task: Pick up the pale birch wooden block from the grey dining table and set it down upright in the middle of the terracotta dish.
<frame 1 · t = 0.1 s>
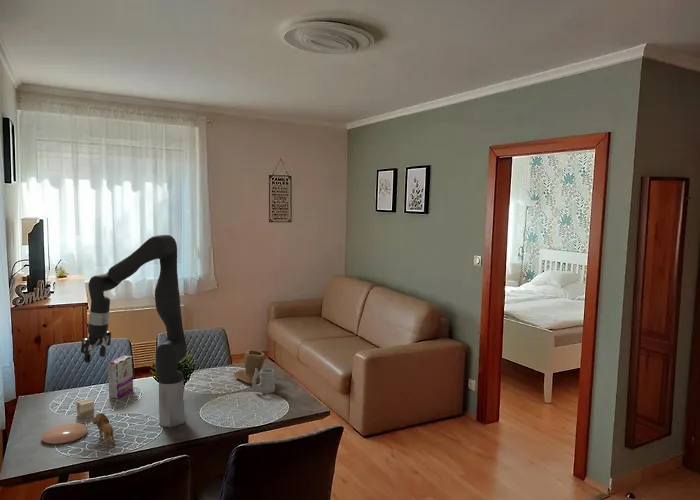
hand: (94, 359, 208), 22 cm above the table, tool pointing down, fingers open, 8 cm apart
birch block: (85, 415, 206), on the table
dish: (65, 435, 188), on the table
mug: (263, 392, 237), on the table
lion figurine: (104, 441, 184), on the table
candy bar box: (120, 394, 230), on the table
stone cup: (250, 380, 252), on the table
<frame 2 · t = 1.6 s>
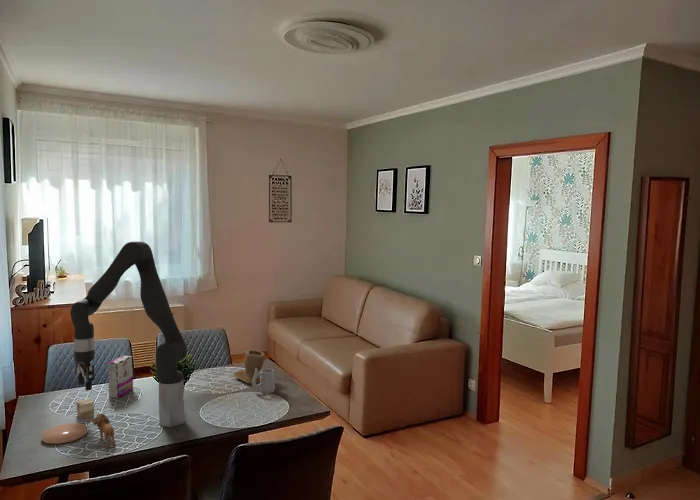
hand: (84, 387, 205), 12 cm above the table, tool pointing down, fingers open, 8 cm apart
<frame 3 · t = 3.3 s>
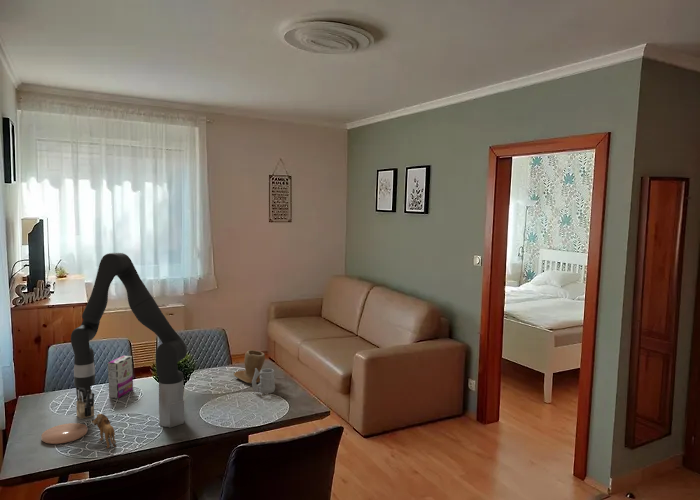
hand: (85, 413, 206), 1 cm above the table, tool pointing down, fingers closed on birch block, 5 cm apart
birch block: (85, 415, 206), on the table, touching gripper
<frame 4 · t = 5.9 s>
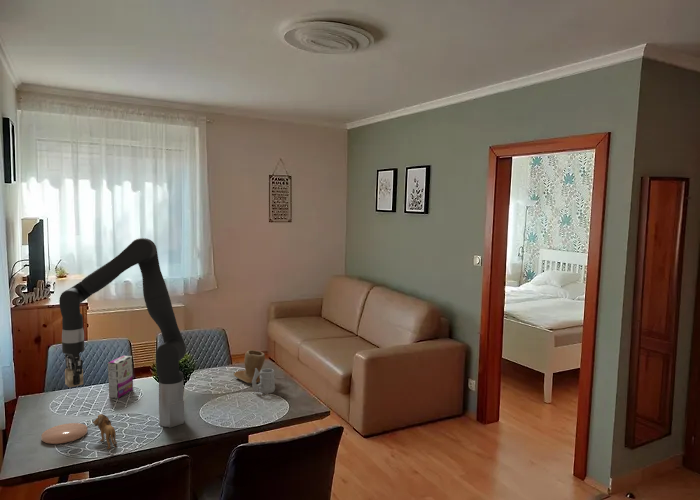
hand: (74, 382, 195), 17 cm above the table, tool pointing down, fingers closed on birch block, 5 cm apart
birch block: (74, 384, 195), point 17 cm above the table, touching gripper
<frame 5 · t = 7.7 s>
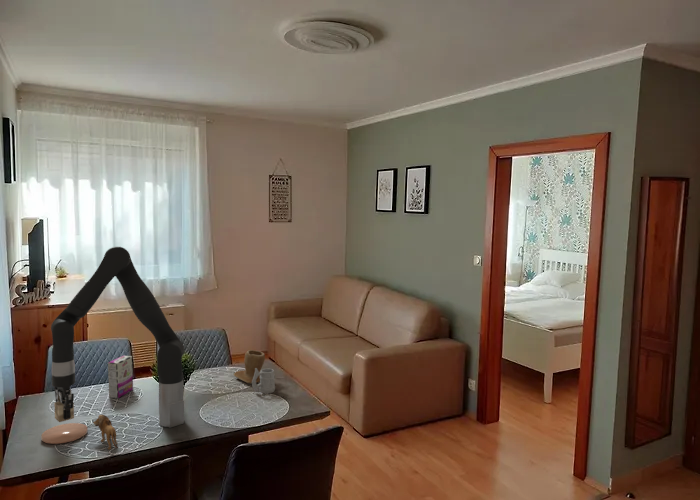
hand: (64, 416, 187), 8 cm above the table, tool pointing down, fingers closed on birch block, 5 cm apart
birch block: (64, 418, 187), point 7 cm above the table, touching gripper
when the fingers open (4 cm above the table, at t = 8.9 s): birch block drops 1 cm, resting on dish.
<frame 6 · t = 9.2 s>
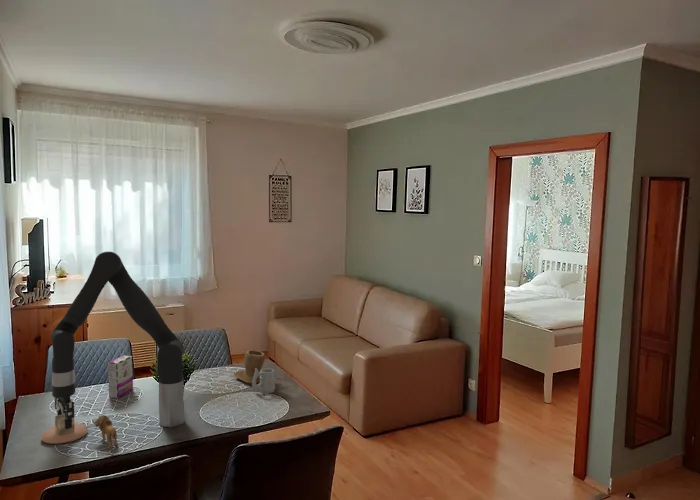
hand: (64, 424, 187), 4 cm above the table, tool pointing down, fingers open, 8 cm apart
birch block: (64, 431, 187), point 2 cm above the table, touching dish
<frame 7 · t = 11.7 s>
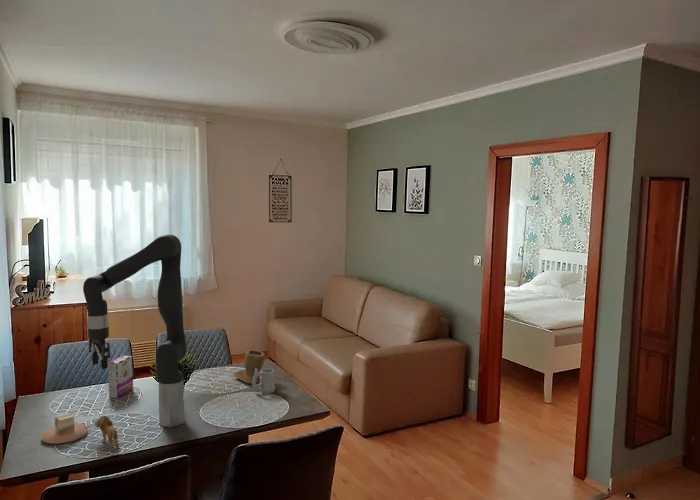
hand: (99, 366, 199), 23 cm above the table, tool pointing down, fingers open, 8 cm apart
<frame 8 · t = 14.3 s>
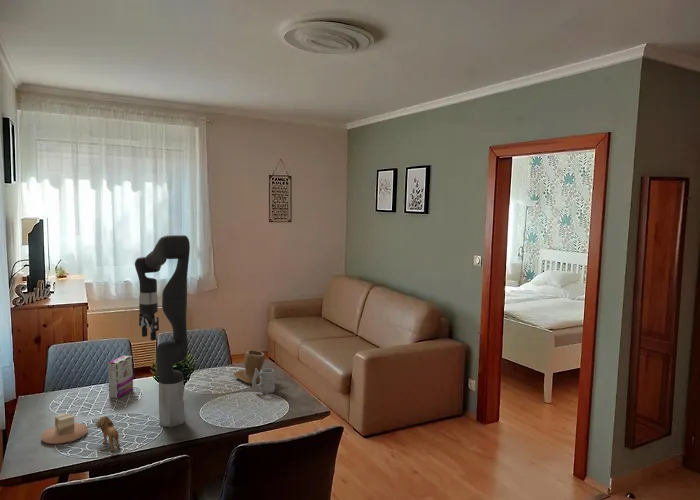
hand: (148, 338, 221), 28 cm above the table, tool pointing down, fingers open, 8 cm apart
at the end: birch block inside the target area on the dish (0.0 cm from its centre), point 1.6 cm above the dish's base; birch block tilted 0°; the gripper is holding nothing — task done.
